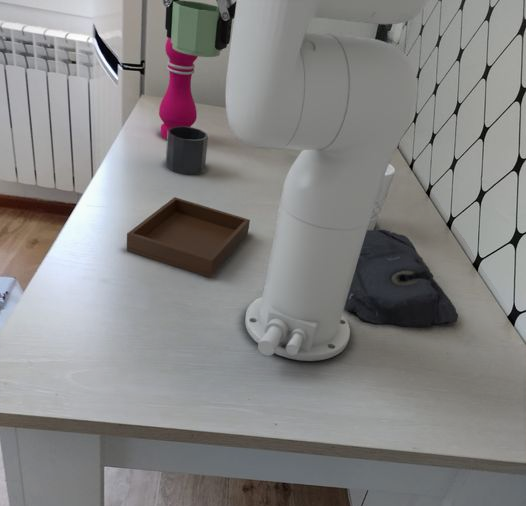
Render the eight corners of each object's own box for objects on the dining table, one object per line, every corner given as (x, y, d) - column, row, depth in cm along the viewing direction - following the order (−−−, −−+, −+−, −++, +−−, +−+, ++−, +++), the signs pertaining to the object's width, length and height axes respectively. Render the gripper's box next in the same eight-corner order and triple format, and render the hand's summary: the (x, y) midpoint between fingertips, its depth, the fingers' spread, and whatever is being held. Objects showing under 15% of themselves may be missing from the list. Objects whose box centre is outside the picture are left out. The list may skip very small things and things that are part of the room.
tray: (210, 277, 76) (212, 260, 75) (126, 250, 79) (126, 233, 77) (247, 235, 88) (250, 219, 86) (173, 212, 90) (174, 196, 88)
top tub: (208, 59, 86) (212, 13, 82) (164, 48, 87) (166, 2, 84) (226, 52, 92) (231, 9, 88) (184, 42, 93) (187, -1, 89)
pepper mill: (155, 129, 117) (159, 16, 105) (190, 131, 120) (199, 21, 108) (161, 142, 112) (167, 25, 100) (198, 144, 115) (208, 30, 102)
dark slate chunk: (415, 249, 93) (425, 222, 90) (461, 332, 76) (475, 302, 73) (321, 238, 91) (328, 210, 88) (346, 321, 73) (356, 289, 70)
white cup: (376, 239, 93) (394, 179, 87) (328, 227, 94) (342, 167, 88) (378, 219, 100) (395, 162, 94) (333, 208, 100) (347, 151, 94)
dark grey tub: (194, 177, 101) (197, 143, 98) (159, 167, 102) (160, 133, 99) (210, 166, 107) (213, 133, 103) (176, 156, 108) (178, 123, 104)
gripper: (135, -118, 77) (133, 32, 87) (259, -94, 74) (241, 59, 84) (162, -113, 83) (156, 27, 93) (277, -91, 79) (258, 52, 90)
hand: (196, 41), depth 89 cm, fingers closed on top tub, 7 cm apart
